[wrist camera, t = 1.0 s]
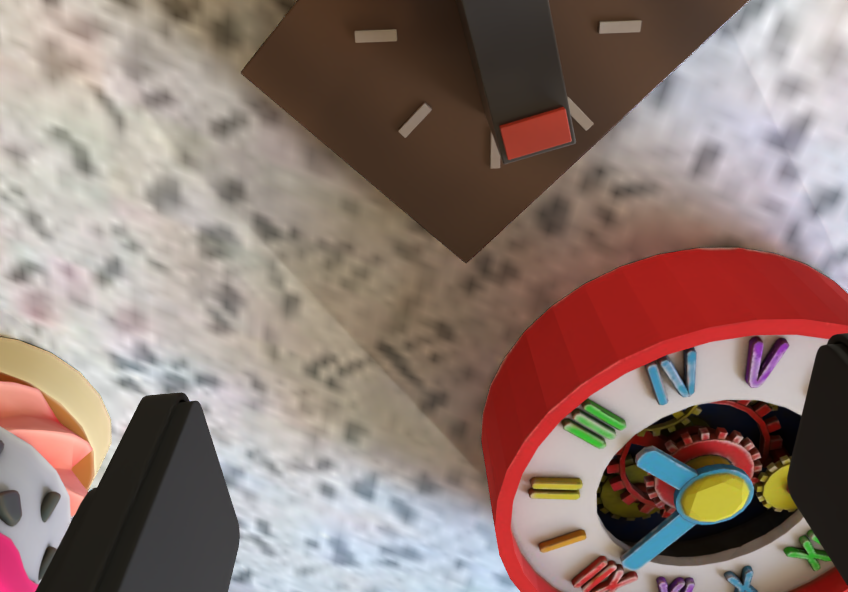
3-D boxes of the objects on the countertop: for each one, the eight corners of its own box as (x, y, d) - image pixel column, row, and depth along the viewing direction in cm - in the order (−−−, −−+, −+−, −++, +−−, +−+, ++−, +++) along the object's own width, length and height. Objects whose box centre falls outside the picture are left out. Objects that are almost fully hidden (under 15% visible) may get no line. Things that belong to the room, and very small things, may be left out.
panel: (529, -292, 21) (544, -313, 19) (734, -22, 25) (767, -13, 23) (252, 57, 26) (239, 74, 24) (461, 237, 30) (466, 266, 28)
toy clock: (1056, 462, 30) (710, 692, 38) (961, 379, 35) (674, 597, 43) (738, 220, 24) (404, 555, 32) (678, 161, 29) (404, 463, 37)
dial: (444, -44, 22) (455, -25, 18) (511, -66, 22) (539, -53, 18) (485, 116, 25) (504, 168, 21) (546, 98, 25) (578, 146, 20)
